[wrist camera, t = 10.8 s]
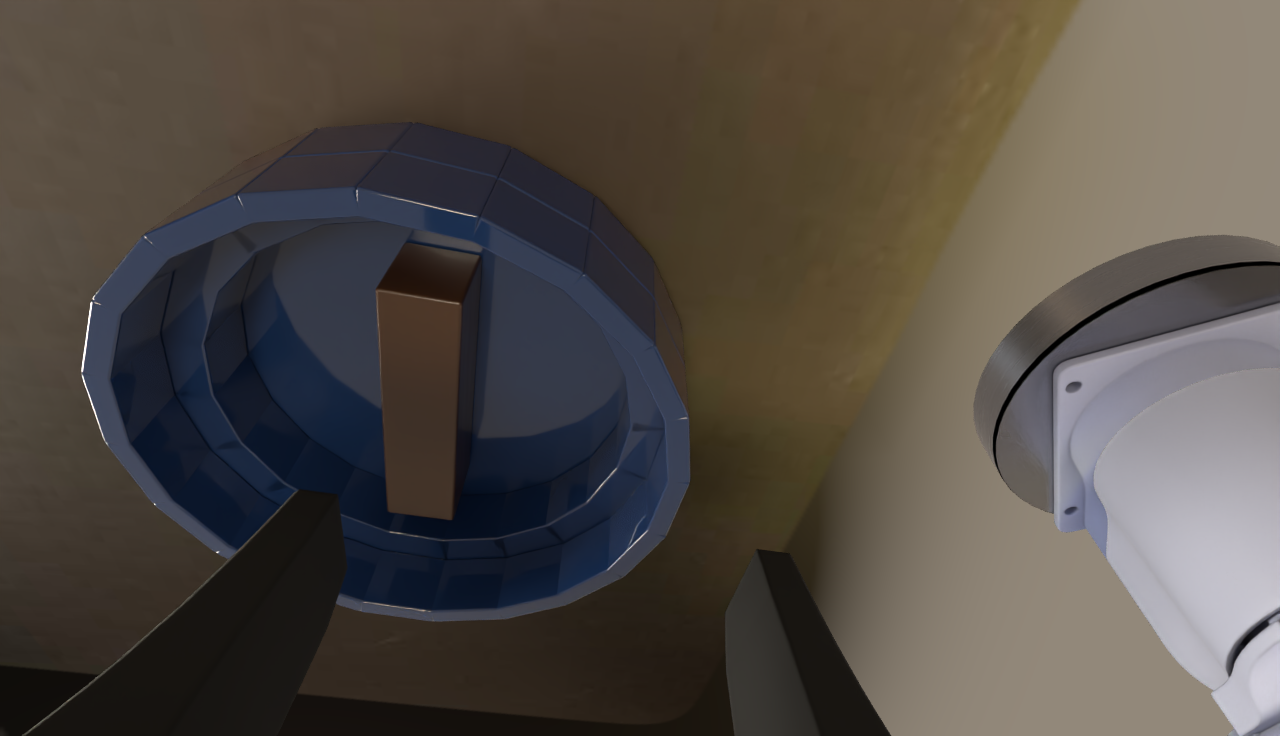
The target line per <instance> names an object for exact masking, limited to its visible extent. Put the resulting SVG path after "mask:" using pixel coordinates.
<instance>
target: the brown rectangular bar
mask: <svg viewBox="0 0 1280 736" xmlns="http://www.w3.org/2000/svg"><path fill="white" fill-rule="evenodd" d="M481 265H482V259H481V256H479V255H474V254H469V253H463V252H458V251H452V250H446V249H441V248H435V247H430V246H424V245H418V244H413V243H404V245H403V246H402V248H401V250H400V251H399V253H398V254H397V256H396V257H395V259H394V261H393V262H392V264H391V265H390V267H389V268H388V270H387V272H386V273H385V275H384V276H383V278H382V279H381V281H380V283H379V284H378V286H377V287H376V289H375V293H376V312H377V330H378V349H379V368H380V386H381V405H382V423H383V442H384V461H385V479H386V498H387V511H388V512H390V513H398V514H406V515H414V516H421V517H429V518H437V519H444V520H453V518H454V516H455V513H456V509H457V506H458V503H459V499H460V496H461V492H462V489H463V485H464V482H465V479H466V475H467V472H468V468H469V464H470V447H471V431H472V414H473V398H474V381H475V365H476V348H477V332H478V315H479V298H480V282H481Z"/></svg>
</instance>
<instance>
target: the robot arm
mask: <svg viewBox="0 0 1280 736" xmlns="http://www.w3.org/2000/svg"><path fill="white" fill-rule="evenodd" d="M1072 382H1073V383H1072ZM1070 383H1072V384H1070ZM1069 384H1070V385H1069ZM1067 385H1068V386H1067ZM1053 439H1054V523H1055V525H1056V527H1057V528H1058V530H1060V531H1061V532H1066V533H1067V532H1074V531H1078V530H1083V529H1087V531H1088V532H1089V534H1090V535H1091V537H1092V538H1093V540H1094V541H1095V543H1096V544H1097V546H1098V547H1099V549H1100V550H1101V552H1102V553H1103V555H1104V556H1105V558H1106V559H1107V560H1108V562H1109V564H1110V565H1111V567H1112V568H1113V569H1114V571H1115V573H1116V574H1117V576H1118V577H1119V578H1120V580H1121V582H1122V583H1123V584H1124V586H1125V587H1126V589H1127V590H1128V592H1129V593H1130V595H1131V596H1132V598H1133V599H1134V601H1135V602H1136V604H1137V605H1138V607H1139V608H1140V610H1141V611H1142V613H1143V614H1144V616H1145V617H1146V619H1147V620H1148V621H1149V623H1150V625H1151V626H1152V627H1153V629H1154V631H1155V632H1156V634H1157V635H1158V637H1159V638H1160V640H1161V641H1162V643H1163V644H1164V646H1165V647H1166V648H1167V650H1168V651H1169V652H1170V654H1171V655H1172V656H1173V657H1174V658H1175V660H1176V661H1177V662H1178V663H1179V664H1180V665H1181V666H1182V667H1183V668H1184V669H1185V670H1186V671H1187V672H1189V673H1190V674H1191V675H1192V676H1193V677H1195V678H1196V679H1197V680H1199V681H1200V682H1201V683H1203V684H1204V685H1205V686H1207V687H1209V688H1210V689H1212V690H1213V692H1212V694H1211V696H1212V697H1213V699H1214V700H1215V701H1216V703H1217V704H1218V706H1219V707H1220V709H1221V710H1222V711H1223V713H1224V715H1225V716H1226V717H1227V719H1228V720H1229V722H1230V723H1231V724H1232V726H1233V727H1234V729H1233V730H1232V731H1231V732H1230V733H1229V734H1228V736H1280V303H1277V304H1274V305H1270V306H1266V307H1263V308H1259V309H1255V310H1251V311H1248V312H1244V313H1240V314H1237V315H1233V316H1229V317H1226V318H1222V319H1218V320H1214V321H1211V322H1207V323H1203V324H1200V325H1196V326H1192V327H1188V328H1185V329H1181V330H1177V331H1174V332H1170V333H1166V334H1163V335H1159V336H1155V337H1151V338H1148V339H1144V340H1140V341H1137V342H1133V343H1129V344H1125V345H1122V346H1118V347H1114V348H1111V349H1107V350H1103V351H1100V352H1096V353H1092V354H1088V355H1085V356H1081V357H1077V358H1074V359H1070V360H1067V361H1064V362H1062V363H1061V364H1059V365H1058V366H1057V367H1056V369H1055V370H1054V373H1053ZM347 568H348V567H347V560H346V552H345V544H344V537H343V529H342V522H341V514H340V506H339V499H338V494H333V493H325V492H318V491H310V490H302V489H299V490H298V491H296V492H294V493H293V494H292V495H291V496H290V497H289V498H288V499H287V500H286V501H285V502H284V503H283V505H282V506H281V507H280V508H279V509H278V510H277V511H276V512H275V513H274V514H273V515H272V516H271V517H270V518H269V519H268V520H267V521H266V522H265V523H264V524H263V525H262V526H261V527H260V528H259V529H258V531H257V532H256V533H255V534H254V535H253V536H252V537H251V538H250V539H249V540H248V541H247V542H246V543H245V544H244V545H243V546H242V547H241V548H240V549H239V550H238V551H237V552H236V553H235V554H234V555H233V556H232V557H231V558H230V559H228V560H227V561H226V562H225V563H224V564H223V565H222V566H221V567H220V568H219V569H218V570H217V571H216V572H215V573H214V574H213V575H212V576H211V577H210V578H209V579H207V580H206V581H205V582H204V583H203V584H202V585H201V586H200V587H199V588H198V589H197V590H196V591H195V592H194V593H193V594H192V595H191V596H190V597H188V598H187V599H186V600H185V601H184V602H183V603H182V604H181V605H180V606H179V607H178V608H177V609H175V610H174V611H173V612H172V613H171V614H170V615H169V616H168V617H166V618H165V619H164V620H163V621H162V622H161V623H160V624H158V625H157V626H156V627H155V628H154V629H153V630H152V631H150V632H149V633H148V634H147V635H146V636H145V637H144V638H142V639H141V640H140V641H139V642H138V643H137V644H136V645H134V646H133V647H132V648H131V649H130V650H129V651H127V652H126V653H125V654H124V655H123V656H122V657H121V658H119V659H118V660H117V661H116V662H115V663H113V664H112V665H111V666H110V667H109V668H107V669H106V670H105V671H104V672H103V673H101V674H100V675H99V676H98V677H96V678H95V679H94V680H93V681H92V682H90V683H89V684H88V685H87V686H85V687H84V688H83V689H82V690H80V691H79V692H78V693H77V694H76V695H74V696H73V697H72V698H70V699H69V700H68V701H66V702H65V703H64V704H63V705H61V706H60V707H59V708H57V709H56V710H55V711H54V712H52V713H51V714H50V715H48V716H47V717H46V718H45V719H43V720H42V721H41V722H39V723H38V724H37V725H35V726H34V727H33V728H31V729H30V730H29V731H27V732H26V733H25V734H23V735H22V736H277V734H278V732H279V730H280V728H281V726H282V724H283V722H284V719H285V717H286V715H287V713H288V711H289V709H290V707H291V705H292V702H293V700H294V698H295V696H296V694H297V692H298V690H299V688H300V686H301V683H302V681H303V679H304V677H305V675H306V673H307V671H308V668H309V666H310V664H311V662H312V660H313V658H314V656H315V653H316V651H317V649H318V647H319V645H320V643H321V640H322V638H323V636H324V634H325V632H326V629H327V627H328V624H329V621H330V618H331V616H332V613H333V610H334V607H335V604H336V601H337V598H338V595H339V592H340V589H341V586H342V583H343V580H344V577H345V574H346V571H347ZM725 646H726V673H727V681H728V689H729V696H730V703H731V712H732V719H733V727H734V733H735V736H891V735H890V733H889V732H888V730H887V729H886V727H885V725H884V724H883V722H882V720H881V719H880V717H879V716H878V714H877V712H876V711H875V709H874V708H873V706H872V704H871V702H870V701H869V699H868V697H867V696H866V694H865V692H864V691H863V689H862V688H861V686H860V684H859V682H858V680H857V679H856V677H855V675H854V674H853V672H852V670H851V668H850V667H849V664H848V663H847V661H846V659H845V657H844V656H843V654H842V652H841V650H840V649H839V647H838V645H837V643H836V641H835V639H834V638H833V636H832V634H831V632H830V630H829V628H828V626H827V625H826V622H825V621H824V619H823V617H822V615H821V613H820V611H819V609H818V607H817V605H816V603H815V601H814V600H813V597H812V596H811V594H810V592H809V590H808V588H807V586H806V584H805V582H804V580H803V578H802V576H801V574H800V572H799V570H798V568H797V566H796V564H795V562H794V560H793V558H792V556H791V555H790V554H789V553H782V552H774V551H767V550H759V549H756V551H755V553H754V555H753V557H752V559H751V561H750V563H749V565H748V567H747V569H746V571H745V573H744V575H743V578H742V580H741V582H740V584H739V586H738V588H737V590H736V592H735V594H734V596H733V598H732V600H731V602H730V604H729V606H728V608H727V610H726V612H725Z"/></svg>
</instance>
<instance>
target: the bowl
mask: <svg viewBox="0 0 1280 736" xmlns="http://www.w3.org/2000/svg"><path fill="white" fill-rule="evenodd" d="M404 243H413V244H418V245H424V246H430V247H435V248H441V249H446V250H452V251H458V252H463V253H469V254H474V255H479V256H481V259H482V265H481V282H480V298H479V315H478V332H477V348H476V365H475V381H474V398H473V414H472V431H471V447H470V464H469V468H468V472H467V475H466V479H465V482H464V485H463V489H462V492H461V496H460V499H459V503H458V506H457V509H456V513H455V516H454V518H453V520H444V519H437V518H429V517H421V516H414V515H406V514H398V513H390V512H388V511H387V498H386V479H385V461H384V442H383V423H382V405H381V386H380V368H379V349H378V330H377V312H376V293H375V289H376V287H377V286H378V284H379V283H380V281H381V279H382V278H383V276H384V275H385V273H386V272H387V270H388V268H389V267H390V265H391V264H392V262H393V261H394V259H395V257H396V256H397V254H398V253H399V251H400V250H401V248H402V246H403V245H404ZM81 371H82V373H81V375H82V378H83V381H84V384H85V387H86V390H87V393H88V396H89V399H90V402H91V404H92V407H93V410H94V413H95V416H96V419H97V422H98V425H99V428H100V431H101V434H102V437H103V440H104V442H106V444H107V446H108V447H109V448H110V450H111V451H112V452H113V454H114V455H115V456H116V457H117V459H118V460H119V461H120V462H121V464H122V465H123V466H124V468H125V469H126V470H127V471H128V473H129V474H130V475H131V477H132V478H133V479H134V480H135V482H136V483H137V484H138V485H139V487H140V488H141V489H142V491H143V492H144V493H145V494H146V496H147V497H148V498H149V499H150V501H151V502H152V503H154V505H155V506H156V507H157V508H159V509H160V510H161V511H162V512H164V513H165V514H166V515H168V516H169V517H170V518H171V519H173V520H174V521H175V522H176V523H178V524H179V525H180V526H182V527H183V528H184V529H185V530H187V531H188V532H189V533H191V534H192V535H193V536H194V537H196V538H197V539H198V540H200V541H201V542H202V543H203V544H205V545H206V546H207V547H209V548H210V549H211V550H212V551H214V552H217V553H218V554H219V555H221V556H223V557H225V558H227V559H230V558H231V557H232V556H233V555H234V554H235V553H236V552H237V551H238V550H239V549H240V548H241V547H242V546H243V545H244V544H245V543H246V542H247V541H248V540H249V539H250V538H251V537H252V536H253V535H254V534H255V533H256V532H257V531H258V529H259V528H260V527H261V526H262V525H263V524H264V523H265V522H266V521H267V520H268V519H269V518H270V517H271V516H272V515H273V514H274V513H275V512H276V511H277V510H278V509H279V508H280V507H281V506H282V505H283V503H284V502H285V501H286V500H287V499H288V498H289V497H290V496H291V495H292V494H293V493H294V492H296V491H298V490H299V489H302V490H310V491H318V492H325V493H333V494H338V499H339V506H340V514H341V522H342V529H343V537H344V544H345V552H346V560H347V567H348V568H347V571H346V574H345V577H344V580H343V583H342V586H341V589H340V592H339V595H338V598H337V601H336V604H338V605H341V606H344V607H347V608H350V609H354V610H357V611H362V612H368V613H375V614H382V615H389V616H396V617H404V618H411V619H418V620H425V621H435V622H436V621H468V620H500V619H508V618H513V617H517V616H521V615H526V614H530V613H535V612H539V611H543V610H548V609H552V608H557V607H561V606H565V605H567V604H570V603H572V602H574V601H576V600H578V599H580V598H582V597H584V596H586V595H588V594H590V593H592V592H594V591H596V590H599V589H601V588H603V587H605V586H607V585H609V584H611V583H613V582H615V581H617V580H619V579H621V578H622V577H625V576H626V575H627V574H628V573H629V572H630V571H631V570H632V569H633V568H634V567H635V566H636V565H637V564H638V563H639V562H640V561H641V560H642V559H643V558H644V557H646V556H647V555H648V554H649V553H650V552H651V551H652V550H653V549H654V548H655V547H656V546H657V545H658V544H659V543H660V542H661V541H662V540H663V539H664V538H665V537H666V535H667V533H668V531H669V529H670V526H671V524H672V522H673V520H674V517H675V515H676V513H677V511H678V509H679V506H680V504H681V502H682V500H683V497H684V495H685V493H686V491H687V488H688V486H689V484H690V480H691V471H690V420H689V407H688V395H687V383H686V372H685V360H684V348H683V336H682V327H681V323H680V321H679V319H678V316H677V314H676V312H675V309H674V307H673V304H672V302H671V300H670V297H669V295H668V293H667V290H666V288H665V286H664V283H663V281H662V279H661V276H660V274H659V272H658V269H657V267H656V265H655V262H654V261H653V260H652V257H651V256H650V255H649V254H648V253H647V252H646V251H645V249H644V248H643V247H642V246H641V245H640V244H639V243H638V242H637V241H636V240H635V238H634V237H633V236H632V235H631V234H630V233H629V232H628V231H627V230H626V229H625V227H624V226H623V225H622V224H621V223H620V222H619V221H618V220H617V219H616V218H615V216H614V215H613V214H612V213H611V212H610V211H609V210H608V209H607V208H606V206H605V205H604V204H603V203H602V202H601V201H600V200H599V199H598V198H597V197H596V196H595V197H594V196H593V194H591V193H589V192H588V191H586V190H584V189H583V188H581V187H579V186H578V185H576V184H574V183H572V182H571V181H569V180H567V179H566V178H564V177H562V176H561V175H559V174H557V173H556V172H554V171H552V170H551V169H549V168H547V167H545V166H544V165H542V164H540V163H539V162H537V161H535V160H534V159H532V158H530V157H529V156H527V155H525V154H524V153H522V152H520V151H518V150H517V149H515V148H511V147H510V146H508V145H504V144H500V143H496V142H492V141H488V140H484V139H480V138H476V137H472V136H468V135H464V134H460V133H456V132H452V131H448V130H444V129H441V128H437V127H433V126H429V125H425V124H421V123H412V122H404V123H389V124H373V125H357V126H341V127H325V128H319V129H318V128H316V129H314V130H311V131H309V132H307V133H305V134H303V135H300V136H298V137H296V138H294V139H292V140H289V141H287V142H285V143H283V144H281V145H278V146H276V147H274V148H272V149H270V150H267V151H265V152H263V153H261V154H259V155H257V156H254V157H252V158H250V159H248V160H246V161H243V162H241V163H240V164H239V165H237V166H236V167H235V168H233V169H232V170H231V171H229V172H228V173H226V174H225V175H224V176H222V177H221V178H220V179H218V180H217V181H216V182H214V183H213V184H211V185H210V186H209V187H207V188H206V189H205V190H203V191H202V192H201V193H200V194H198V195H196V196H195V197H194V198H192V199H191V200H190V201H188V202H187V203H186V204H184V205H183V206H181V207H180V208H179V209H177V210H176V211H175V212H173V213H172V214H171V215H169V216H168V217H166V218H165V219H164V220H162V221H161V222H160V223H158V224H157V225H156V226H154V227H153V228H151V229H150V230H149V231H147V232H146V233H145V234H144V235H142V236H141V237H140V239H139V240H138V241H137V242H136V243H135V245H134V246H133V247H132V248H131V250H130V251H129V252H128V253H127V255H126V256H125V257H124V258H123V260H122V261H121V262H120V263H119V264H118V266H117V267H116V268H115V269H114V271H113V272H112V273H111V274H110V276H109V277H108V278H107V279H106V281H105V282H104V283H103V284H102V285H101V287H100V288H99V289H98V290H97V292H96V293H95V294H94V295H93V299H92V300H91V304H90V311H89V318H88V325H87V333H86V340H85V347H84V354H83V362H82V369H81Z"/></svg>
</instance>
